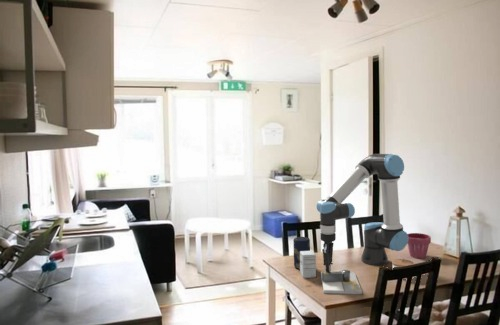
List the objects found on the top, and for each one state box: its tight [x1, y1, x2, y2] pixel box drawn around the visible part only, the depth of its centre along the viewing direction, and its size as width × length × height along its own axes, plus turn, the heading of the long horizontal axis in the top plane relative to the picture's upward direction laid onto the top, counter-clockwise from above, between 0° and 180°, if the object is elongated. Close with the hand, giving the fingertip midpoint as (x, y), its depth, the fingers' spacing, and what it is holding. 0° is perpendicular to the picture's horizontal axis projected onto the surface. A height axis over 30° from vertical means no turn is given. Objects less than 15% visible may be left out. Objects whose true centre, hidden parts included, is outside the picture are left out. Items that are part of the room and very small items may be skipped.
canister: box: [293, 236, 311, 270], centre depth 229 cm, size 10×10×18 cm
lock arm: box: [321, 269, 351, 282], centre depth 202 cm, size 14×4×5 cm, turn 96°
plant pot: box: [407, 232, 432, 259], centre depth 244 cm, size 14×14×13 cm
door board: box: [320, 270, 363, 295], centre depth 203 cm, size 18×26×4 cm
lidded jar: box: [391, 258, 415, 269], centre depth 211 cm, size 11×11×9 cm
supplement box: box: [299, 250, 317, 279], centre depth 216 cm, size 7×7×13 cm
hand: (328, 277), depth 205 cm, fingers closed
